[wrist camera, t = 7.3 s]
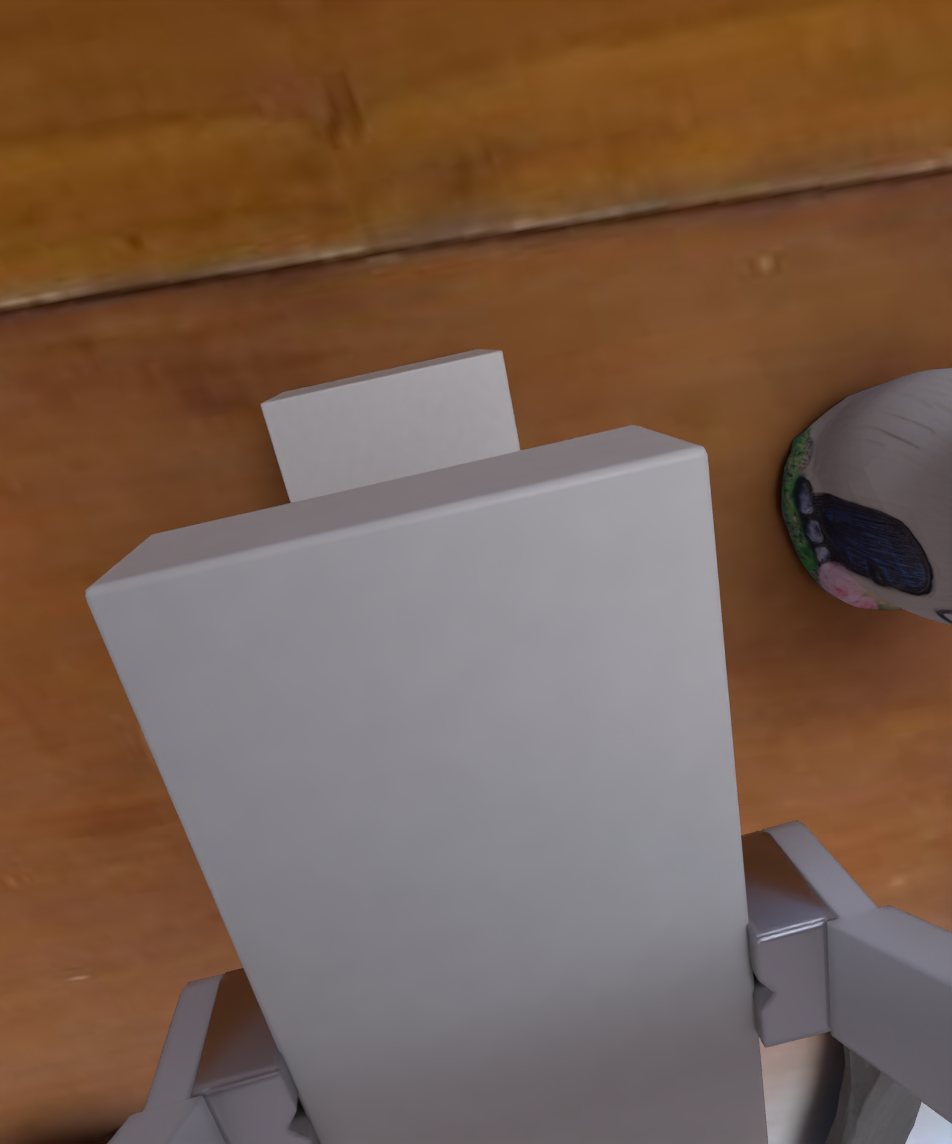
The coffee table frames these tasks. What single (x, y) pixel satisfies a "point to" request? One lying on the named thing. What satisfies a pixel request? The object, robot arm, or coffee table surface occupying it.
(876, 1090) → the bone
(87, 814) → the coffee table surface
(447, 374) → the grey oblong block
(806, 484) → the decorative ornament
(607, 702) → the pale grey rectangular block
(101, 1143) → the piggy bank
